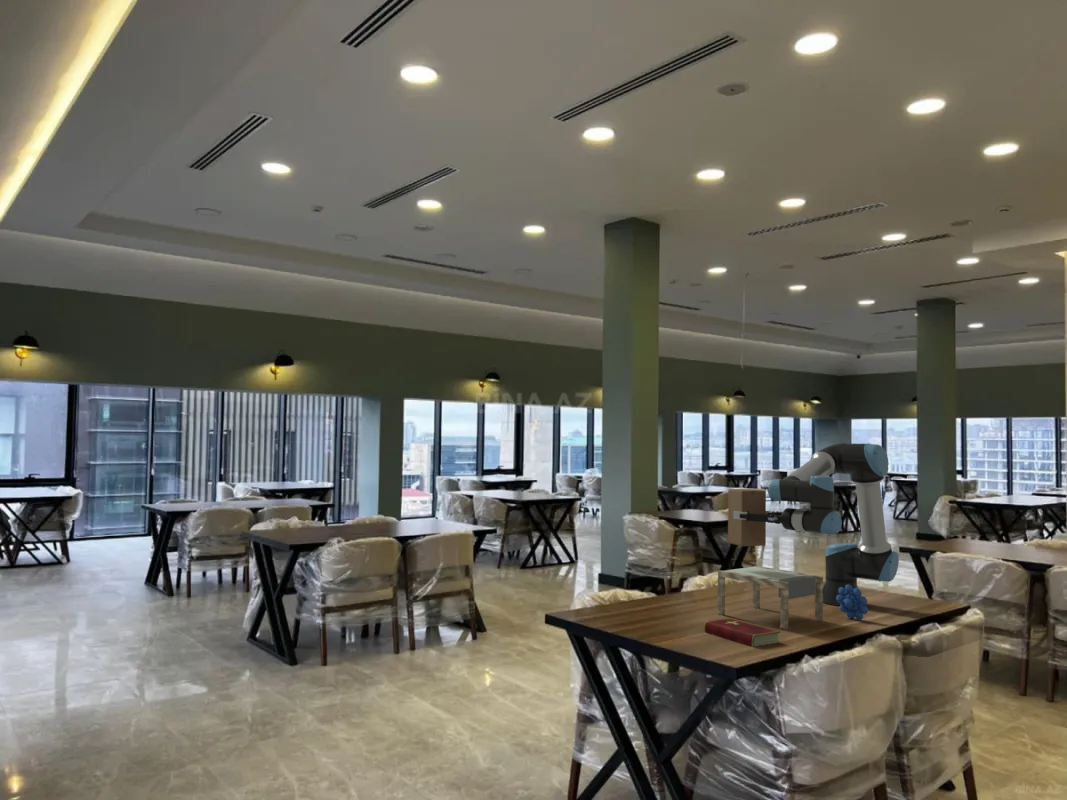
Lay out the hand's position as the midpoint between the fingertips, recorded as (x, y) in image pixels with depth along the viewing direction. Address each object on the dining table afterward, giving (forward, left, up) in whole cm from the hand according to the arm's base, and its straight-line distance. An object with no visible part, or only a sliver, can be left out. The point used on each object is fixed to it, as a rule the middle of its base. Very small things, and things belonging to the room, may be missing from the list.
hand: (744, 514), depth 299 cm
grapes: (-23, +29, -36) cm, 52 cm away
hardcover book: (+33, +23, -36) cm, 54 cm away
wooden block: (0, +1, -11) cm, 11 cm away
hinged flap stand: (0, +11, -36) cm, 37 cm away
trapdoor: (0, +11, -26) cm, 28 cm away
